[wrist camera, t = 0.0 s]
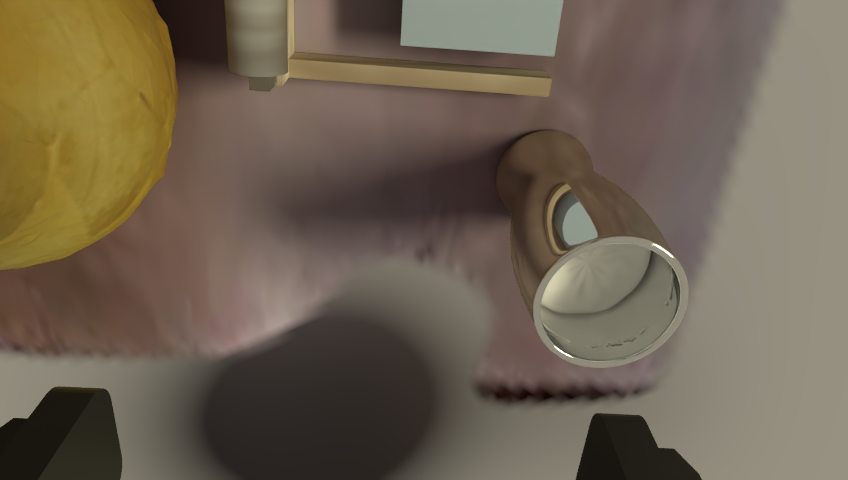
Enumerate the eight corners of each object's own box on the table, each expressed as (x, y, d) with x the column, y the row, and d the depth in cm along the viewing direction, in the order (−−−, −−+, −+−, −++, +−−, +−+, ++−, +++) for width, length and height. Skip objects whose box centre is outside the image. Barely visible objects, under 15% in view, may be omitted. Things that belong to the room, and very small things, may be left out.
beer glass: (478, 218, 41) (512, 363, 28) (501, 114, 38) (550, 221, 25) (582, 232, 42) (663, 380, 29) (612, 131, 39) (719, 244, 25)
